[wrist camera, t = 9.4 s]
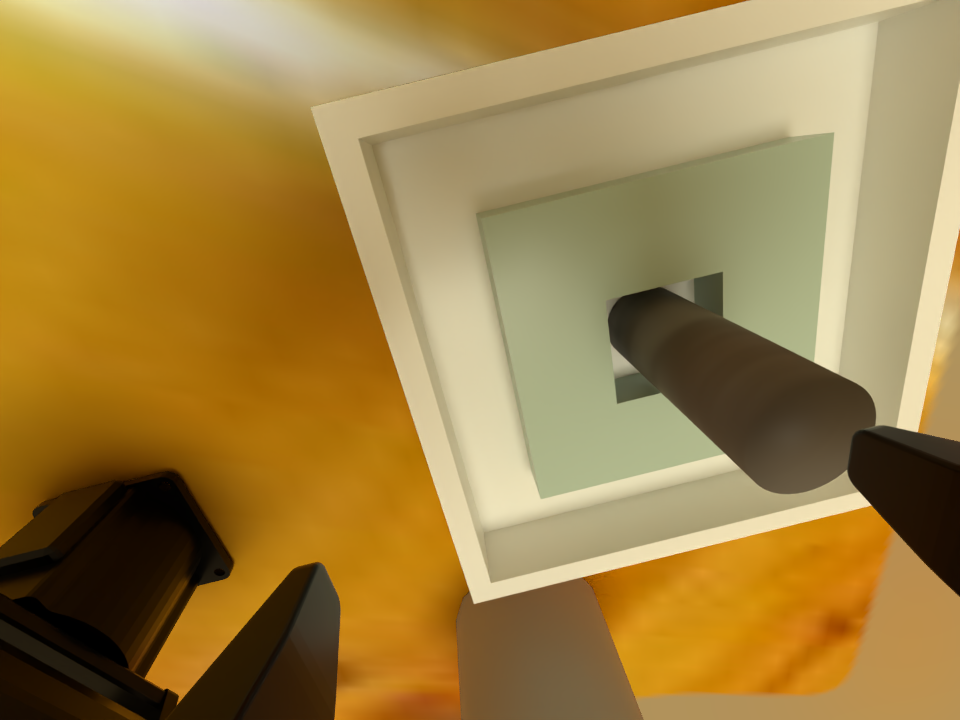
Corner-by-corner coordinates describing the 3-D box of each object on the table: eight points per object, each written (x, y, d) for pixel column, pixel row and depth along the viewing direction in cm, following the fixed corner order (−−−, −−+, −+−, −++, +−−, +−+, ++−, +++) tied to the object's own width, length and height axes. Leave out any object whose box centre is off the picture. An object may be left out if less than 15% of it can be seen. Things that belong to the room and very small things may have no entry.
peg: (681, 347, 19) (866, 476, 11) (610, 365, 19) (744, 507, 11) (679, 277, 18) (885, 364, 10) (603, 295, 18) (747, 397, 10)
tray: (831, 447, 24) (904, 497, 20) (467, 537, 24) (473, 603, 20) (884, -10, 16) (1020, -66, 12) (338, 122, 16) (310, 107, 12)
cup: (477, 554, 24) (504, 785, 15) (614, 569, 26) (715, 788, 17) (444, 658, 27) (450, 903, 18) (569, 666, 29) (633, 898, 20)
